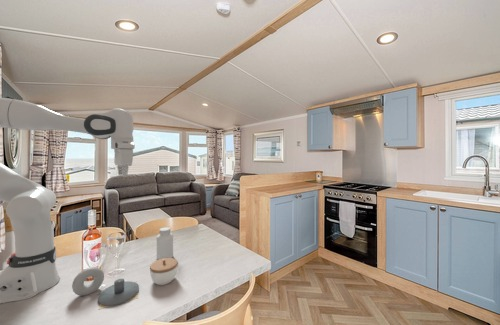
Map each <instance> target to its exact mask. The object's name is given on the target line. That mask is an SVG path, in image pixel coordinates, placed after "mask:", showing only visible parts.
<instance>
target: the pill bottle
mask: <svg viewBox="0 0 500 325" xmlns="http://www.w3.org/2000/svg"><path fill="white" fill-rule="evenodd" d="M158 231H159V234H157V236H156V260H159V259H163V258H173V256H174V235H173V233H172V232H171V228H170V227H169V226H168V227H161V228H159V230H158Z"/></svg>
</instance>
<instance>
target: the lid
mask: <svg viewBox="0 0 500 325" xmlns="http://www.w3.org/2000/svg"><path fill="white" fill-rule="evenodd" d="M135 282H136V281H130V280H129V281H125V279H124V278H118V279H116V280H114V282H113V284H112V285H110V286H107V287H106V288H105V289H103V291H102V290H101V291H102V292H100V293H99V294H98V297H97V298H98V299H97V300H98V305H99V304H101V305H103V306H110V307H115V306H118V305H121V304H125V303H126V302H129V301H128V300H130V299H132V298H133V297H134V296H135V295H136V294H137V293H138V294H139V291H140V286H139V284H138V282H137V283H135ZM130 301H131V300H130Z"/></svg>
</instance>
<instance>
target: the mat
mask: <svg viewBox="0 0 500 325" xmlns="http://www.w3.org/2000/svg"><path fill="white" fill-rule="evenodd" d="M134 282H135V283H137V284H138V282H137V281H134ZM103 290H104V289H103ZM103 290H101V292H102V291H103ZM101 292H100V293H101ZM136 299H139V292H138V293H137V294H136V295H135V296H134V297H133V298H132V299H130V300H128V301H127V302H129V301H133V300H136ZM109 307H110V308H111V306H103V305H101V304H99V303H98V310H102V309H105V308H109Z"/></svg>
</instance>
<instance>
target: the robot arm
mask: <svg viewBox="0 0 500 325" xmlns="http://www.w3.org/2000/svg"><path fill="white" fill-rule="evenodd" d="M0 128H2V129H3V128H4V129H6V128H7V129H13V130H23V131H65V132H66V131H67V132H75V133H83V134H86V135H91V136H92V137H94V138H96V139H98V140H99V139H100V140H107V139H110V150H113V151H114V165H115V166H116V167H117V174H118V176H122V177H128V172H129V167H131V166H132V165H133V158H134V149H135V143H134V136H133V132H134V119H133V115H132V114H131V112H129V111H128V110H126V109H122V108H118V107H117V108H112V109H111V110H108V111H104V112H102V113H101V112H100V113H95V114H94V113H93V114H90V115H88V116H87V117H85V118H82V117H81V118H80V117H74V116H68V115H64V114H61V113H59V112H55V111H53V110H50V109H48V108H46V106H45V107H44V106H42V105H40V104H37V103H34V102H29V101H25V100H20V99H14V98H9V97H8V98H7V97H0ZM0 201H2V202H4V203H6V204H7V205H6V207H5V213H6V216H7V217H8V218H9V221H10V224H11V227H12V230H13V234H14V252H13V253H12V254H10V257H8V258H7V260H6V265H8V266H6V267H5V268H4V269H2V270H0V304H4V303H10V302H16V301H23V300H27V299H31V298H33V297H34V296H36V295H38V294H39V293H41V292H44V291H47V290H48V289H50V288H52V287H53V286H56V284H58V283H59V282H60V280H61V277H60V275H59V272H58V269H57V266H56V260H57V250H56V246H55V231H54V230H55V229H54V226H53V223H52V219H51V210H52V209H53V208H54V207H55V205H57V204H56V203H57V195H56V193H55V192H54V191H53V190H52V189H49V188H47V187H45V186H43V185H41V184H40V183H38V182H36V181H33V180H32V179H30V178H27V177H25V176H23V175H22V174H19V173H17V172H16V171H14V170H13V169H11V168H9V167H8V166H6V165H5V164H3V163H2V162H0Z"/></svg>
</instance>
